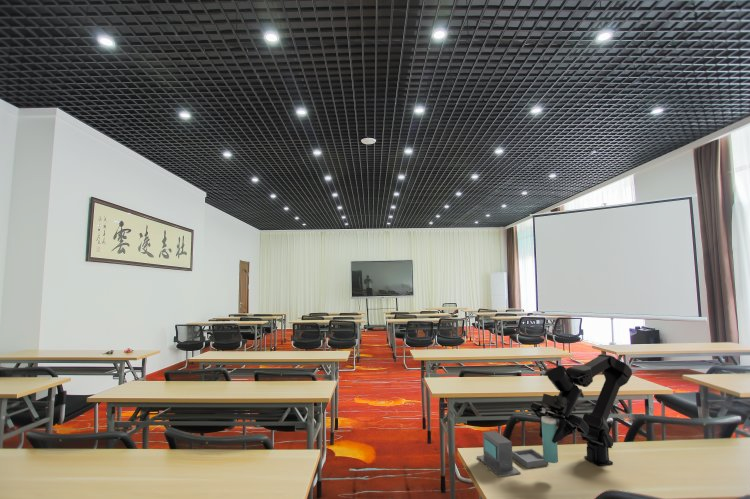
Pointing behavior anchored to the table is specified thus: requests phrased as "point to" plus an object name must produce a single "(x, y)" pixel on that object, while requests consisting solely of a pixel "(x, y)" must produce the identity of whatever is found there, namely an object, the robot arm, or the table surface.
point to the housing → (498, 454)
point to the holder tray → (529, 458)
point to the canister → (549, 439)
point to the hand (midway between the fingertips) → (546, 439)
